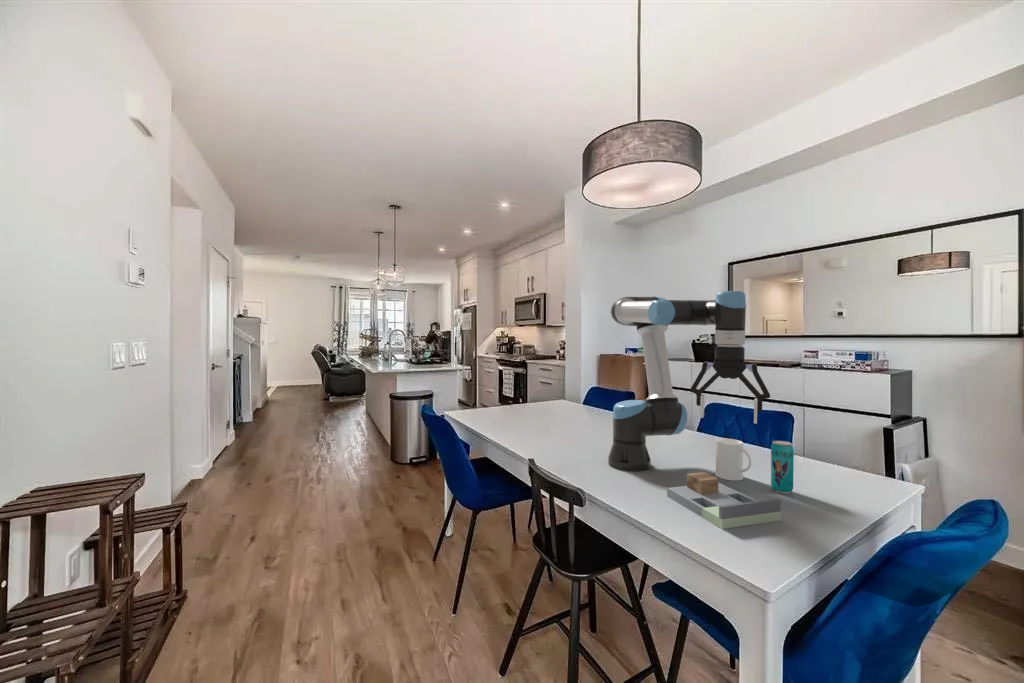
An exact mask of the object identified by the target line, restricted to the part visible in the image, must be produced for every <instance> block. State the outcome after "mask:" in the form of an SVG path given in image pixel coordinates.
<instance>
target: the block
mask: <svg viewBox="0 0 1024 683" xmlns="http://www.w3.org/2000/svg"><path fill="white" fill-rule="evenodd" d="M718 483H719V477H717V476H713V475H711V474H708V473H707V472H705V471H704V472H692V473H686V486H687V488H689V489H691V490H693V491H695V492H697V493H699V494H700V495H702V494H710V493H718Z"/></svg>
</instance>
